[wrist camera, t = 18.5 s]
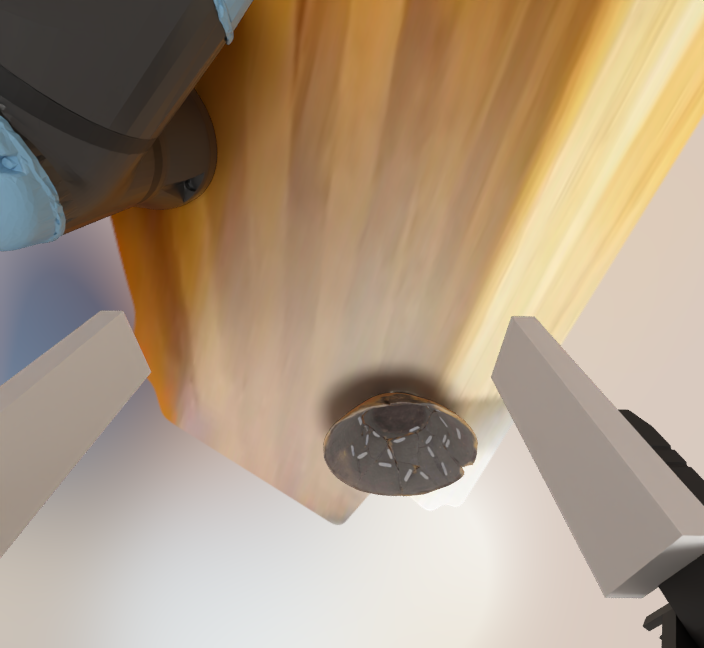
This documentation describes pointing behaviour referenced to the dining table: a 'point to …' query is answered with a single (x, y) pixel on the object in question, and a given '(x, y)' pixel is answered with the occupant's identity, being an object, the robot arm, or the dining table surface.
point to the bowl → (399, 446)
